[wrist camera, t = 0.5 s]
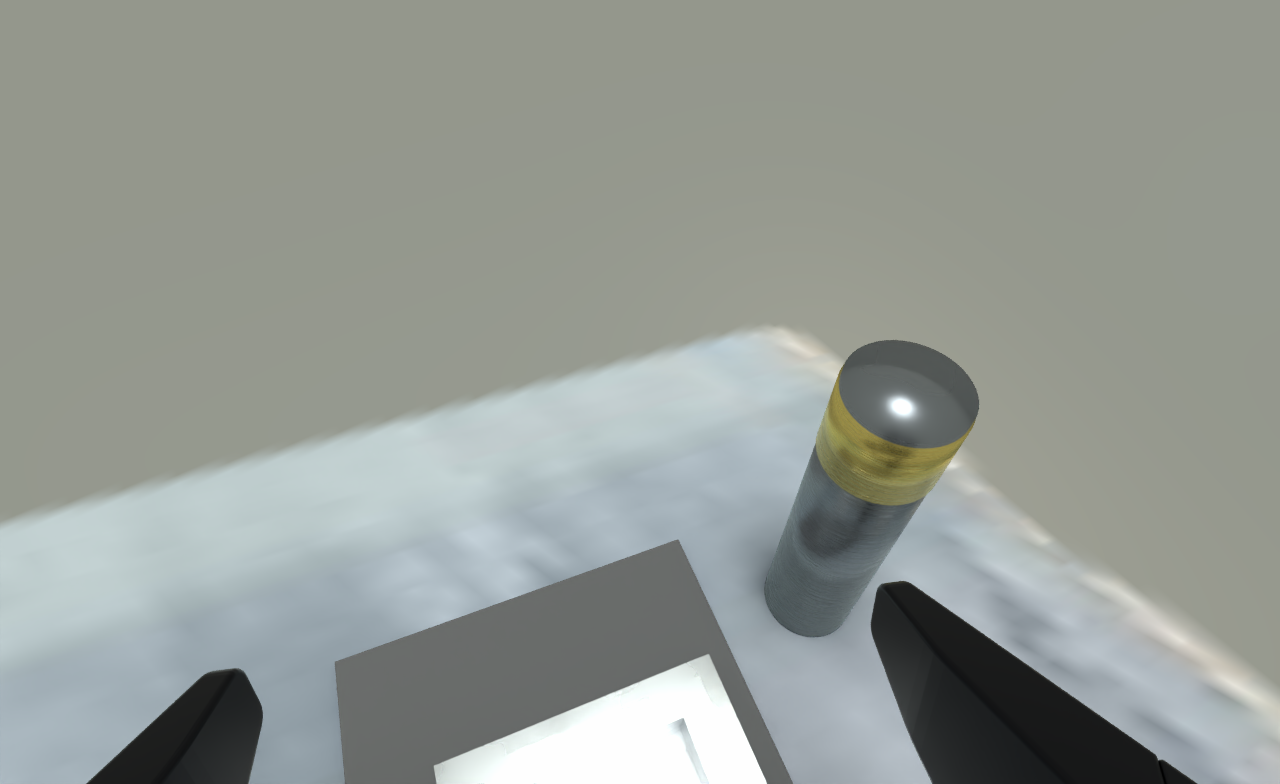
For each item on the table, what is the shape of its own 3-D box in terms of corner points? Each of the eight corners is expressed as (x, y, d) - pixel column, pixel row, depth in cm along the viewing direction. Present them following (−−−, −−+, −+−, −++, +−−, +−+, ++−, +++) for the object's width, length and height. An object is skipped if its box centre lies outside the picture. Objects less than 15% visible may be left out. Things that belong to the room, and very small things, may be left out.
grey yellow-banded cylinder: (867, 619, 26) (1011, 418, 16) (790, 651, 25) (892, 460, 15) (820, 544, 28) (923, 325, 18) (748, 572, 27) (814, 358, 17)
